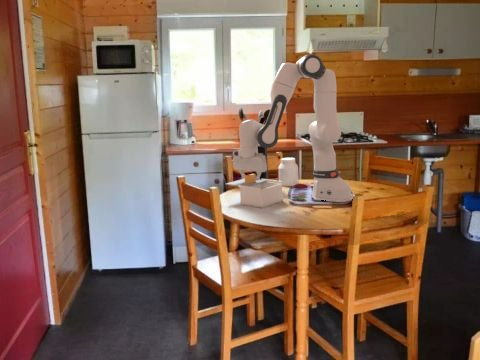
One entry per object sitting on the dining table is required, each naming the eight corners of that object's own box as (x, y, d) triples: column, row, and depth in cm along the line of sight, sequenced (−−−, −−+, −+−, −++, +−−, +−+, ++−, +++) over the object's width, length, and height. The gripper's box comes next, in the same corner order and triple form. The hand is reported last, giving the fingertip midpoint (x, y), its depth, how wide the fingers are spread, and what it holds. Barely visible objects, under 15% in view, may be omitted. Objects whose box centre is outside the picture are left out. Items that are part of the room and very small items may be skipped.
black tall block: (266, 189, 268) (264, 140, 262) (253, 189, 269) (250, 140, 264) (268, 186, 275) (266, 138, 270) (255, 186, 277) (252, 138, 271)
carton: (284, 200, 241) (283, 181, 239) (260, 208, 228) (259, 188, 226) (262, 197, 251) (262, 178, 249) (239, 204, 238) (238, 185, 236)
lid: (266, 181, 246) (266, 172, 245) (245, 187, 234) (245, 178, 233) (246, 179, 255) (246, 170, 254) (225, 184, 244) (225, 175, 243)
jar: (291, 186, 272) (290, 160, 269) (276, 185, 278) (275, 159, 275) (300, 182, 281) (300, 157, 278) (286, 181, 287) (285, 156, 284)
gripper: (269, 152, 235) (270, 180, 237) (238, 150, 248) (240, 176, 251) (260, 154, 230) (262, 182, 233) (230, 152, 244) (232, 178, 247)
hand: (250, 179), depth 242 cm, fingers open, 8 cm apart
